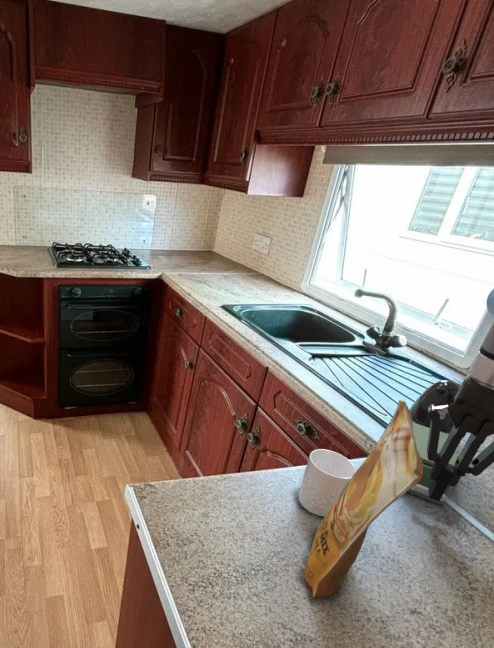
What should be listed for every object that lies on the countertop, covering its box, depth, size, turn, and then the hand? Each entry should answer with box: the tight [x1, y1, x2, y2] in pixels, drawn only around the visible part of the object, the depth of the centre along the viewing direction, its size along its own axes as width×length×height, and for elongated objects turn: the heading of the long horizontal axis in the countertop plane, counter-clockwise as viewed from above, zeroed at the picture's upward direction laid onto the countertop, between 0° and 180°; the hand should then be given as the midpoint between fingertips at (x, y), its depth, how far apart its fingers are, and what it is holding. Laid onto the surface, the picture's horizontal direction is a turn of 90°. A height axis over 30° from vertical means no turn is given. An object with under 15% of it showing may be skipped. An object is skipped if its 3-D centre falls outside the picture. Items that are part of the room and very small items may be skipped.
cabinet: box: [406, 423, 458, 506], centre depth 86 cm, size 15×9×9 cm, turn 148°
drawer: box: [407, 462, 450, 505], centre depth 83 cm, size 18×7×7 cm, turn 148°
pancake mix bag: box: [303, 400, 423, 598], centre depth 60 cm, size 7×19×28 cm, turn 145°
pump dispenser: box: [409, 379, 461, 434], centre depth 101 cm, size 10×10×15 cm
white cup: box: [297, 448, 358, 517], centre depth 76 cm, size 8×8×10 cm
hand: (433, 494), depth 74 cm, fingers closed
